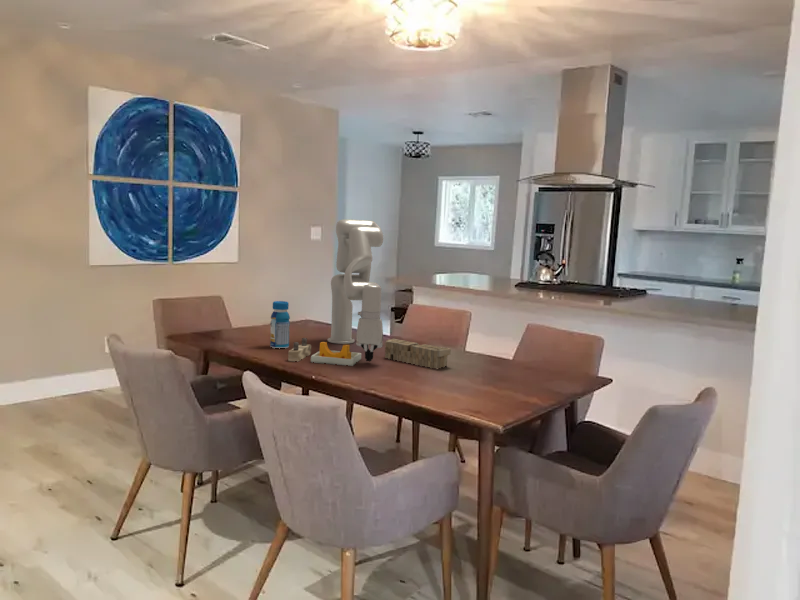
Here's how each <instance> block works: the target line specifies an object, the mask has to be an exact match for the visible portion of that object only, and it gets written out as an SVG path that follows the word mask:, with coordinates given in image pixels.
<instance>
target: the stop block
mask: <svg viewBox="0 0 800 600" xmlns="http://www.w3.org/2000/svg"><path fill="white" fill-rule="evenodd" d="M311 353H312V344H310V343H309V344H308V339H307V338H306V337H303V338H301V344H300V343H299V342H297V341H296V342H295V341H294V342H293V348H291V349H290V350H288V360H287V361H288V362H295V361H297V362H300V361H302V360H304V359H305V358H306V356H307V357H308V356H310V355H311ZM301 359H302V360H301Z"/></svg>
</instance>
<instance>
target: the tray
mask: <svg viewBox="0 0 800 600" xmlns="http://www.w3.org/2000/svg"><path fill="white" fill-rule="evenodd" d="M329 350H330V351H332V352H333V353H336V352H338V353H339V352H340V351H341V350H331V349H329ZM350 352H351V359H344V358H333V357H321V356H319V355H320V350H319V351H317V352H316V353H313V354H312V355H311V356H310V363H313V362H314V363H315V364H324V363H326V364H325V365H335V364H337V365H338V366H346V365H348V366H349V367H353V366H354V365H355V364H357V363H358V362H359V361H360V360H362V352H355V351H353V352H352V351H350ZM356 362H357V363H356ZM337 365H336V366H337Z"/></svg>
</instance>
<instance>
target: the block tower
mask: <svg viewBox="0 0 800 600" xmlns="http://www.w3.org/2000/svg"><path fill="white" fill-rule="evenodd" d="M384 345H385V348H384V359H385V358H388V359H387V360H390V359H391V360H393V361H395V360H397V361H396V362H399V361H402V362H401V363H404V362H406V363H405V364H408V363H411V364H410V365H413V364H415V365H414V366H418V365H420V366H419V367H422V366H425V367H424V368H427V367H430V368H429V369H432V368H436V369H435V370H438V369H437V368H440V369H442V368H441V367H443V368H446V367H445V366H447V367H448V356H451V355H452V351H451V350H452V349H451V348H449V347H440V346H436V345H431V344H426V343H425V344H424V343H423V344H419V343H418V342H413V341H408V340H402V339H398V338H397V339H396V338H390V339H386V340H385V343H384Z"/></svg>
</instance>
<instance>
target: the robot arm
mask: <svg viewBox="0 0 800 600" xmlns="http://www.w3.org/2000/svg"><path fill="white" fill-rule="evenodd" d="M335 232H336V237H337V242H338V243H337V245H338V246H337V253H336V262H335V263H336V265H335V266H336V270H337V271H338V272H339V274H335V275H334V276H332V278H331V279H330V288H331V289H330V290H331V326H330V327H331V329H330V337H328V338H327V343H328V342H329V343H331V344H339V345H345V344H346V345H350V344H354V343H355V341H356V343H355V344H356V346H357V347H361V348H362V349H363V350H364V359H365V362H372V360H373V359H374V351H375V350H377V349H380V348H382V347H384V344H383V341H384V339H383V338H384V326H383V320H382V318H381V306H382V305H381V302H382V287H381V286H380V285H379V284H378V283H377V282H375V281H373V282H371V281H370V278H371V269H372V262H373V255H372V254H373V252H372V248H379V247H381V246H382V245H383V243H384V233H383V230H382V228H381V226H379V225H378V224H377V222H375V221H373V220H367V219H353V218H351V219H347V218H345V219H339V220H338V221H337V223H336V225H335ZM352 301H361V311H358V312H357V316H360V318H358V323H357V326H356V327H357V329H356V337H355V338H352V336H353V335H352V333H353V332H352V330H353V308H354V306H353V302H352ZM355 339H356V340H355ZM369 345H370V347H369ZM369 348H370V349H369Z"/></svg>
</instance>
